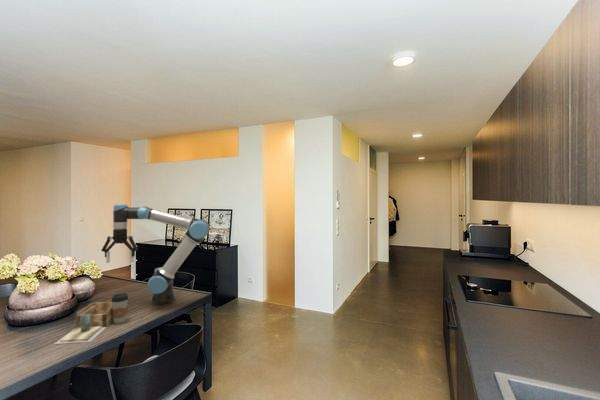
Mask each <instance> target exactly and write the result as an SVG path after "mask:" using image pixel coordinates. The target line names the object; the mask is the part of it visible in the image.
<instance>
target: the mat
mask: <svg viewBox="0 0 600 400" xmlns="http://www.w3.org/2000/svg"><path fill="white" fill-rule="evenodd" d="M107 328H108V326H107V327H102V329H100V330H99V331H98V332H97V333H96V334H95V335H93V336H92V337H91V338H90V339H89V340H88V341H74V342H60V340H61V339H63V338H64V337H65V336H67V335H68V334H70V333H71V332H72V331H74V330H75V329H76V328H73V329H72V330H71V331H69V332H68V333H67V334H65V335H64V336H63V337H62V338H60V339H59V340H57V341H56V342H54V343H53V345H69V344H86V343H92V342H93V341H94V340H95V339H96V338H98V337H99V336H100V334H102V333H103V332H104V331H105V330H106V329H107Z"/></svg>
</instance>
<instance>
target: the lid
mask: <svg viewBox="0 0 600 400" xmlns="http://www.w3.org/2000/svg"><path fill="white" fill-rule="evenodd" d="M74 329H75V330H74V331H72V330H71V331H72V332H71V331H70V332H71V333H70V334H68V333H67V334H68V335H67V334H66V335H67V336H65V335H64V336H65V337H64V336H63V337H64V338H63V337H62V338H63V339H61V338H60V339H61V340H60V339H59V340H60V342H74V341H88V340H89V339H90V338H91V337H92V336H93V335H95V334H96V333H97V332H98V331H99V330H100V329H102V326H97V327H90V314H83V315H81V327H80V328H76V327H75V328H74Z"/></svg>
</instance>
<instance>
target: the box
mask: <svg viewBox="0 0 600 400" xmlns="http://www.w3.org/2000/svg"><path fill="white" fill-rule="evenodd" d="M83 314H90V327H97V326H102V327H107V328H108V327H109V326H110V325H111V324H112V323H114V322H113V313H112V301H105V302H104V301H103V302H102V301H101V302H100V301H99V302H97V301H96V302H91V303H90V304H88V305H87V306H85V307H84V308H82V309H81V310H79V311H78V312H76V314H75V315H76V316H75V317H76V319H75V320H76V321H75V322H76V326H75V329H76V328H80V327H81V315H83Z"/></svg>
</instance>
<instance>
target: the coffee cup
mask: <svg viewBox="0 0 600 400" xmlns="http://www.w3.org/2000/svg"><path fill="white" fill-rule="evenodd" d="M110 302H112V313H113V322H112V323H113V324H115V325H116V324H117V325H118V324H123V323H125V322H126V321H127V316H128V315H127V314H128V308H129V307H128V304H129V303H128V302H129V295H128V293H117V294H115V295H112V298H111V301H110Z"/></svg>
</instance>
